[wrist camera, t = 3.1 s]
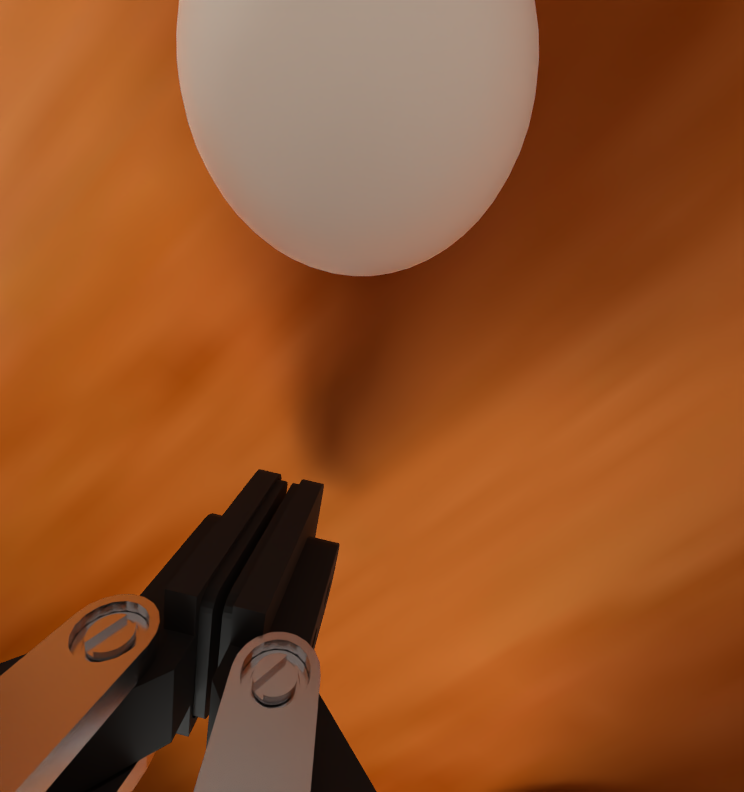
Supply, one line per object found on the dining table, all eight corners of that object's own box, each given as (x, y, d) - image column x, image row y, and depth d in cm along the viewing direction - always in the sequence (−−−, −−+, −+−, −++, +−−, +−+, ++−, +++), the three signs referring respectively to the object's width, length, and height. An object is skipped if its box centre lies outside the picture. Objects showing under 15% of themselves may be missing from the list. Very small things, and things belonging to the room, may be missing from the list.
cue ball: (546, 182, 9) (711, 60, 4) (348, 317, 11) (275, 363, 5) (415, -66, 8) (401, -682, 3) (217, 121, 10) (-32, -62, 4)
